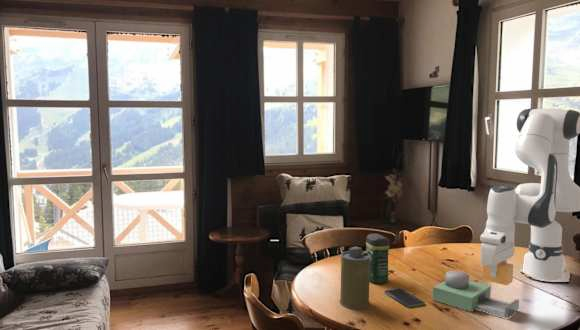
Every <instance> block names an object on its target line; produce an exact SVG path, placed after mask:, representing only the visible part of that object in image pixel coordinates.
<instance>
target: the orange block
mask: <svg viewBox="0 0 580 330" xmlns="http://www.w3.org/2000/svg"><path fill="white" fill-rule="evenodd" d="M496 268H497V271H498V273H497V274H498V275H497V276H496V277H492V276H491V275H490V273H491V271H490V268H489V267H488V266H484V265H482V280H483V281H486V282H487V281H488V282H490V283H495V284H500V285H503V286H508V285H510V284H511V283H513V278H514V277H513V276H514V264H512V263H508V262H507V263H504V262H501V263H499V264H498V265H497V267H496Z"/></svg>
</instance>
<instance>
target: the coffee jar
mask: <svg viewBox="0 0 580 330" xmlns="http://www.w3.org/2000/svg"><path fill="white" fill-rule="evenodd" d="M365 244H366V252H369V254H370V255H371V258H370V279H369V282H371V283H373V284H385V283H387V282H388V281H389V249H390V239H389V238H388V237H386V236H384V235H381V234H379V233H369V234H367V236H366V240H365Z"/></svg>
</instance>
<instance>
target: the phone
mask: <svg viewBox="0 0 580 330" xmlns="http://www.w3.org/2000/svg"><path fill="white" fill-rule="evenodd" d="M383 293H384V295H385V296H387V297H389V298H391V299H392V300H393V301H395V302H397V303H399V304H400V305H401V306H403V307H404V308H406V307H407V308H408V309H412V307H413V308H417V307H418V306H419V307H423V305H424V306H425V305H426V302H425V301H424V300H422V299H420V298H418V297H417V296H415V295H413V294H411V292H408V291H407V290H405V289H403V288H393V289H388V290H387V289H386V290H384V292H383ZM419 307H418V308H419Z"/></svg>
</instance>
